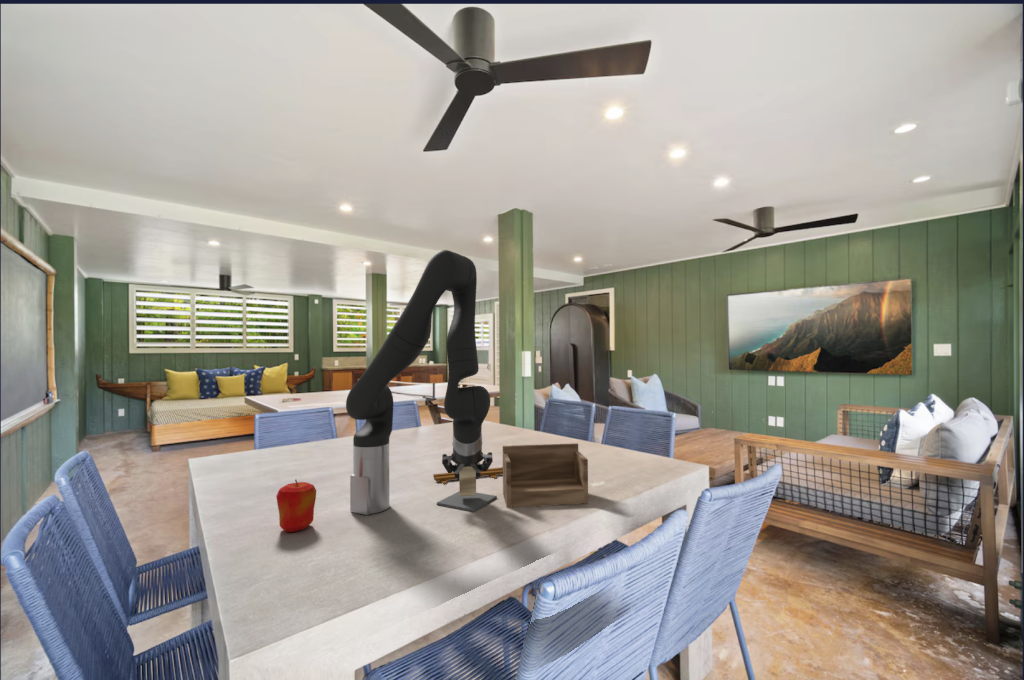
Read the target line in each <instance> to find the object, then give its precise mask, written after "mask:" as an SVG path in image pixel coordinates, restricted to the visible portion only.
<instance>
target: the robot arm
mask: <svg viewBox="0 0 1024 680" xmlns="http://www.w3.org/2000/svg"><path fill="white" fill-rule="evenodd" d="M429 259H430V260H429V261H428V262H427V265H426V266H425V268H424V270H423V273H422V274H421V277H420V279H419V281H418V283H417V285H416V287H415V290H414V292H413V293H412V296H411V297H410V298H409V300H408V302H407V304H406V306H405V307H404V309H403V311H402V312H401V314H400V317H398V319H397V321H396V322H395V324H394V325H393V327H391V328H392V329H390V332H389V333H388V335H387V336H386V339H385V340H384V342H383V344H382V346H381V347H380V349H379V350H378V351H377V353H376V355H375V356H374V358H373V359H372V361H371V362H370V364H369V366H368V367H367V368H366V370H365V371H364V372H363V373H362V375H361V376H360V377H359V378H358V380H357V381H356V382H355V383H354V385H353V386H352V388H351V389H350V391H349V392H348V394H347V397H346V401H345V408H346V409H345V410H346V411H347V412H346V413H347V415H348V416H349V417H350V418H351V419H353V420H358V421H359V420H360V421H364V420H365V423H364V424H363V425H362V427H361V428H360V429H359V430H358V431H357V432H355V433H354V435H353V438H352V439H353V440H352V441H353V444H352V446H353V457H352V459H353V460H352V461H353V467H352V468H353V469H352V471H353V474H351V475H350V477H349V478H350V479H349V480H350V481H349V482H350V485H349V486H350V487H349V489H350V490H349V493H350V494H349V495H350V496H349V497H350V498H349V501H350V506H349V508H350V511H349V512H351V513H355V514H360V515H363V516H369V515H371V514H377V513H378V514H379V513H381V512H383V511H386V510H388V509H389V508H390V437H391V434H392V432H393V421H394V420H393V419H394V397H393V393H392V391H391V388H390V387H389V386H388V384H389V383H390V382H391V381H392V380H393V379H395V378H396V377H397V376H399V375H400V374H401V373H403V372H404V371H405V370H406V369H407V368H408V367H410V366H411V365H412V364H414V362H415V361H416V360H417V359H418V357H419V356H420V354H421V353H422V352H423V350H424V348H426V345H427V343H429V339H430V338H431V333H432V319H433V317H432V316H433V312H434V309H435V307H436V305H437V303H438V301H439V300H440V298H441V297H442V295H443V294H444V293H445V292H446V291H448V292H450V293H451V294H452V300H453V316H452V319H451V323H450V326H449V329H448V331H447V336H446V343H445V344H446V345H445V346H446V356H447V366H448V368H447V370H448V373H447V374H448V378H447V384H446V385H447V386H446V392H445V396H444V403H443V409H444V411H445V414H446V415H447V416H448V417H449V418H450V419H452V431H453V432H452V442H451V444H452V453H451V455H447V454H446V453H443V454H441V455H442V456H441V457H442V458H441V463H442V466H443V467H444V469H445V470H446V473H452V472H454V473H455V478H457V479H456V480H457V481H459V472H460V471H461V470H462V468H463V467H467V466H469V467H472V468H473V469H474V470H475V471H476V480H478V479H479V478H481V476H480V473H481V471H484V472H486V471H487V470H488V469H490V468H491V467H490V466H491V465H492V463H493V452H491V451H489V452H487V454H486V453H485V454H484V453H483V452H484V451H483V433H482V428H483V427H482V426H483V423H484V420H485V419H486V417H487V415H488V413H489V410H490V407H491V395H490V393H489V391H488V389H486V388H485V387H484V386H482V385H472V386H463V387H459V383H460V382H461V381H462V380H463V379H467V378H470V377H473V376H475V375H477V374H478V372H479V369H480V368H479V359H478V352H477V350H478V349H477V342H476V341H477V340H476V339H477V338H476V303H477V302H476V301H477V285H478V284H477V279H478V278H477V268H476V265H475V263H474V262H473V260H472V259H470V258H469V257H466V256H464V255H462V254H460V253H457V252H455V251H452V250H448V249H441V250H438V251H437V252H436V253H434V254H433V256H432V257H430V258H429ZM452 462H453V463H454V464H453V463H452ZM481 462H482V463H481Z"/></svg>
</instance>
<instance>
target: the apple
mask: <svg viewBox="0 0 1024 680" xmlns="http://www.w3.org/2000/svg"><path fill="white" fill-rule="evenodd" d="M275 498H276V503H277V510H278V515H279V520H278V521H279V527H280V528H281V529H282V530H283V531H284V532H286V533H295V532H299V531H302V530H304V529H307V528H308V527H309V526H310V525H311V524H312V523H313V521H314V515H315V514H314V512H315V505H316V499H317V489H316V487H315V486H314V484H313V483H309V482H306V481H305V482H304V481H298V480H297V479H295V482H292V483H288V484H286V485H284V486H282V487H280V488H279V489H278V491H277V494H276V497H275Z"/></svg>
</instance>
